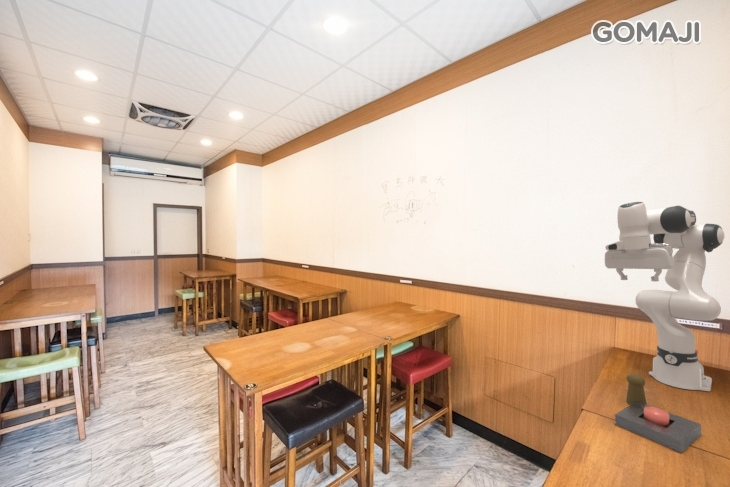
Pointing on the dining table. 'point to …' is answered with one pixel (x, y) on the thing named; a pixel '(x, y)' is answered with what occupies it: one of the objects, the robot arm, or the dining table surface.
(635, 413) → the switch box
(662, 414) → the button
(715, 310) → the robot arm
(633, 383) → the olive pepper mill
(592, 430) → the dining table surface
